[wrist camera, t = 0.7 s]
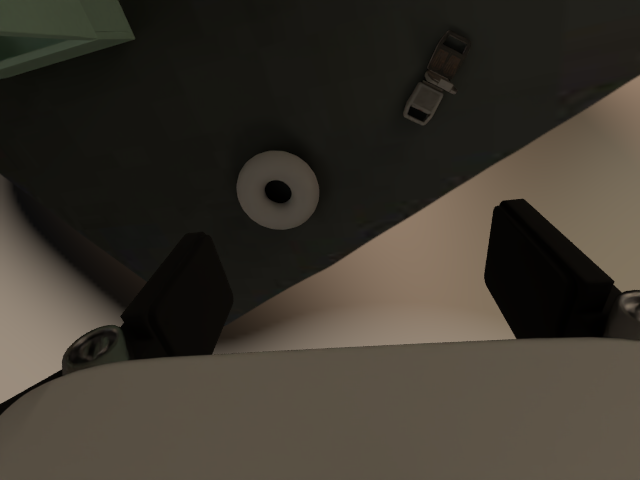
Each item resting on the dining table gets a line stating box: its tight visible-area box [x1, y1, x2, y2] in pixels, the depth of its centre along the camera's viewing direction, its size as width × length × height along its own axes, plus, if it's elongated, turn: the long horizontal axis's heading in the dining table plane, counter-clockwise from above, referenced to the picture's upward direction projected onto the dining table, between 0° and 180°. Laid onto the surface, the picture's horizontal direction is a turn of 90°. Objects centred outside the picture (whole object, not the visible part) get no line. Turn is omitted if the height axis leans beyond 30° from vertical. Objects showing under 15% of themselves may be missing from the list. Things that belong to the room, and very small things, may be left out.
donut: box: [236, 151, 319, 230], centre depth 39 cm, size 10×4×10 cm
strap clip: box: [403, 31, 471, 125], centre depth 32 cm, size 8×3×4 cm, turn 157°
